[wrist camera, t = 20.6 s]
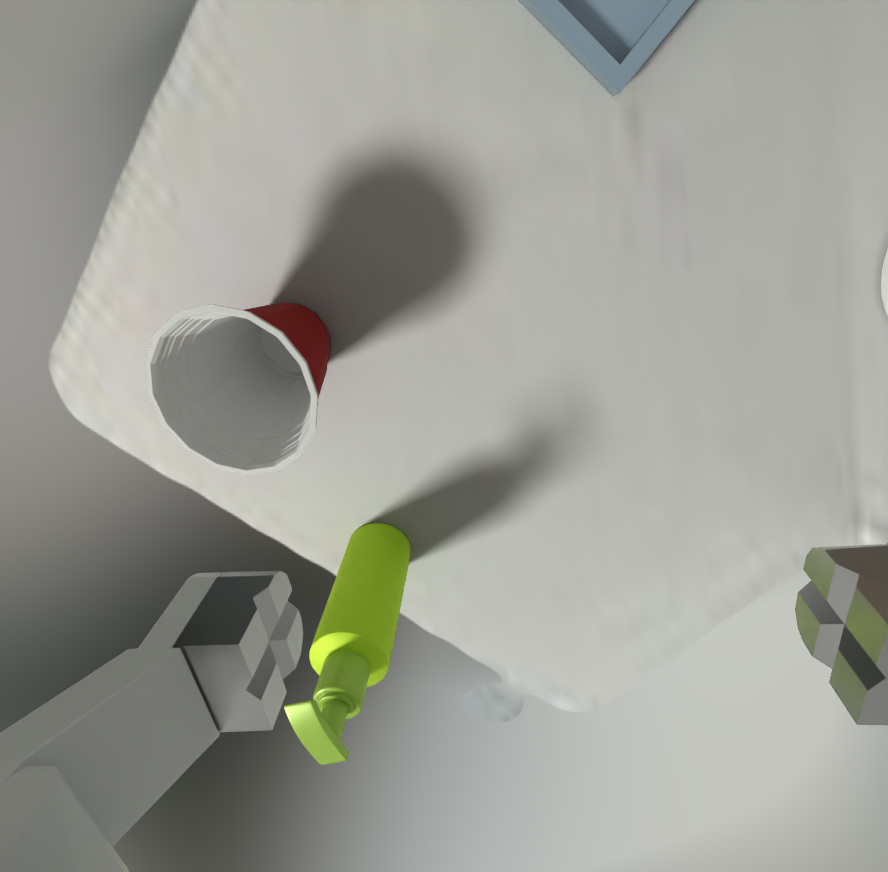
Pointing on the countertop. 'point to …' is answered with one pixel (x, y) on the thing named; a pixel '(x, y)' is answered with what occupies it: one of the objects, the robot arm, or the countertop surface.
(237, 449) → the plastic cup
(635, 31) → the tray
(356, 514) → the countertop surface
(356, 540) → the soap dispenser
